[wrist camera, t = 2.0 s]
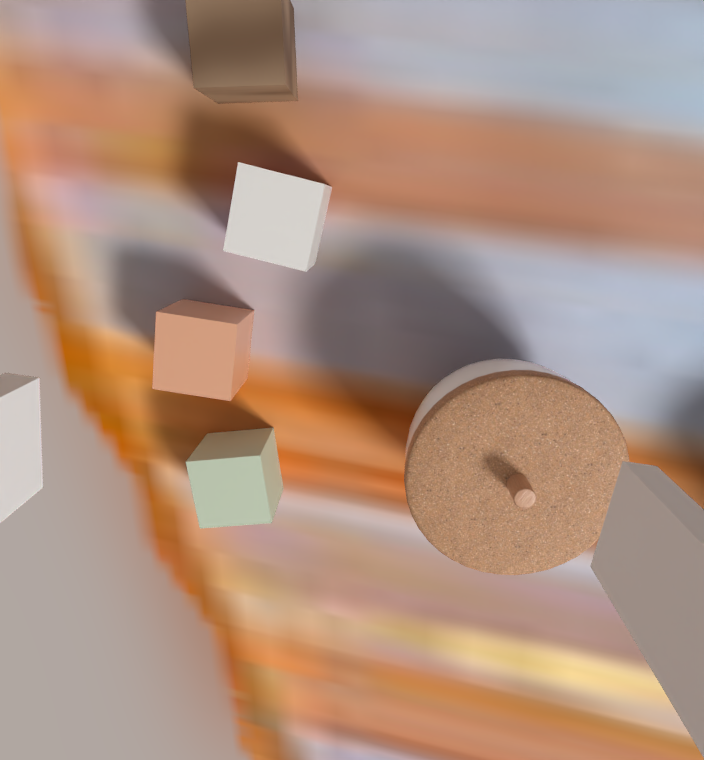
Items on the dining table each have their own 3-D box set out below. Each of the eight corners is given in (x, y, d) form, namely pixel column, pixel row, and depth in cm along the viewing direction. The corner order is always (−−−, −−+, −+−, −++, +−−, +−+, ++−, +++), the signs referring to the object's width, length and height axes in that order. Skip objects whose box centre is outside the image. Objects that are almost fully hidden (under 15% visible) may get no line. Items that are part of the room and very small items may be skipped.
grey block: (256, 168, 36) (238, 162, 32) (332, 187, 36) (325, 184, 32) (243, 245, 38) (223, 250, 33) (315, 263, 38) (306, 271, 33)
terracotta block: (183, 298, 39) (156, 311, 34) (254, 309, 39) (237, 324, 34) (179, 367, 40) (152, 388, 36) (247, 378, 41) (230, 401, 36)
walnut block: (210, 12, 34) (183, -20, 29) (293, 8, 34) (279, -24, 29) (218, 103, 35) (193, 87, 31) (298, 101, 35) (285, 84, 30)
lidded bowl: (613, 398, 40) (699, 467, 29) (505, 529, 43) (546, 634, 32) (465, 302, 38) (499, 339, 28) (366, 446, 42) (362, 528, 31)
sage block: (207, 433, 42) (185, 461, 37) (273, 426, 42) (259, 455, 37) (219, 493, 43) (199, 528, 39) (283, 488, 43) (271, 523, 38)
